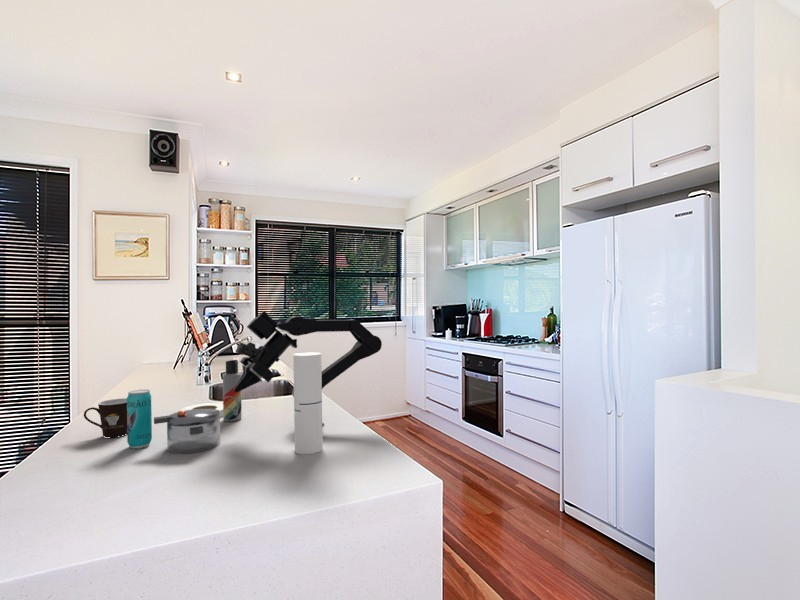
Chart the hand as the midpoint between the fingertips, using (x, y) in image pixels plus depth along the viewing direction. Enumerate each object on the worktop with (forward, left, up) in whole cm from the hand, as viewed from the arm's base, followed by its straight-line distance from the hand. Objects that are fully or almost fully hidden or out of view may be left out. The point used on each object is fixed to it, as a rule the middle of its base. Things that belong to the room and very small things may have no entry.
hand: (235, 391), depth 125 cm
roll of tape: (+30, -18, -14) cm, 37 cm away
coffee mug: (+39, +9, -14) cm, 42 cm away
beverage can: (+21, +14, -14) cm, 28 cm away
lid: (+7, +10, -6) cm, 14 cm away
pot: (+6, +9, -13) cm, 17 cm away
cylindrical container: (-25, +2, -14) cm, 29 cm away
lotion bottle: (+16, -16, -14) cm, 26 cm away
